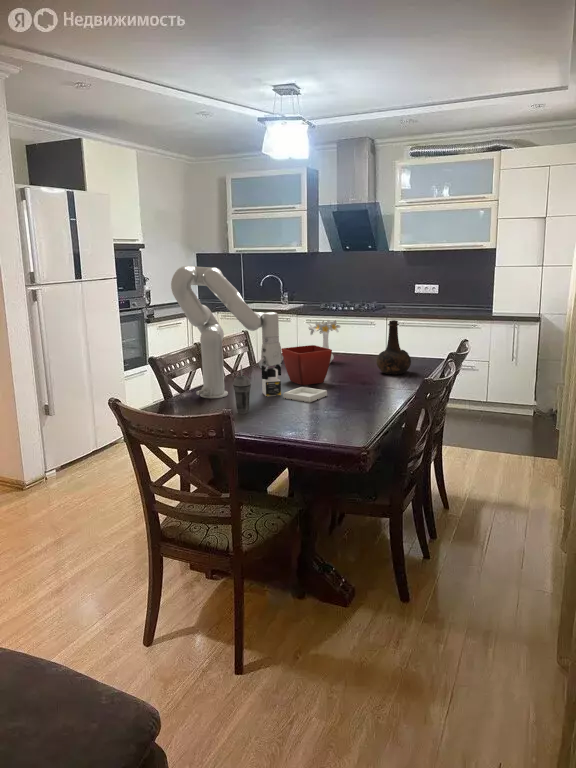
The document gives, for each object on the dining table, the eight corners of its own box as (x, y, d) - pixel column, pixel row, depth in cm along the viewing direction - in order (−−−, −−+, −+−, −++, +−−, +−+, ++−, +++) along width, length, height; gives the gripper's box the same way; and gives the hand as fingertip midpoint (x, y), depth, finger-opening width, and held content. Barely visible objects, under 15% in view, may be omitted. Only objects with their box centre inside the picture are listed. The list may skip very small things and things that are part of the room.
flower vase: (309, 360, 348) (309, 318, 342) (340, 360, 346) (340, 318, 340) (308, 364, 335) (307, 321, 330) (340, 364, 333) (340, 321, 328)
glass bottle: (417, 374, 304) (418, 321, 298) (387, 378, 297) (388, 323, 291) (398, 368, 320) (399, 318, 314) (370, 371, 314) (370, 319, 307)
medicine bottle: (266, 396, 263) (265, 370, 260) (262, 393, 270) (261, 367, 267) (281, 395, 265) (280, 369, 262) (277, 392, 271) (276, 366, 269)
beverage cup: (252, 409, 241) (250, 362, 237) (251, 414, 234) (250, 365, 230) (234, 410, 241) (232, 362, 236) (233, 415, 234) (231, 366, 229)
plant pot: (281, 380, 295) (280, 347, 292) (313, 376, 304) (313, 344, 300) (299, 388, 279) (298, 353, 275) (333, 383, 287) (333, 349, 283)
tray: (309, 402, 251) (309, 396, 251) (283, 398, 260) (283, 392, 259) (326, 395, 262) (326, 390, 262) (301, 392, 271) (301, 386, 270)
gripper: (265, 343, 252) (266, 381, 256) (288, 338, 266) (289, 374, 270) (251, 342, 257) (253, 379, 261) (275, 337, 270) (276, 373, 274)
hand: (271, 377), depth 265 cm, fingers open, 9 cm apart
